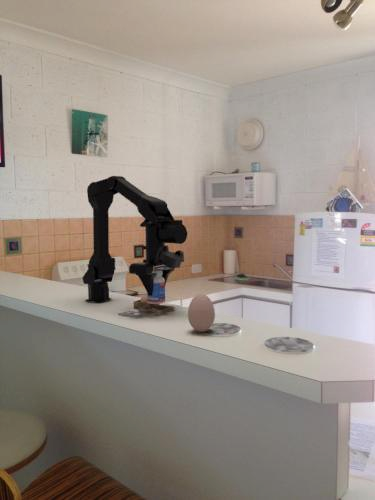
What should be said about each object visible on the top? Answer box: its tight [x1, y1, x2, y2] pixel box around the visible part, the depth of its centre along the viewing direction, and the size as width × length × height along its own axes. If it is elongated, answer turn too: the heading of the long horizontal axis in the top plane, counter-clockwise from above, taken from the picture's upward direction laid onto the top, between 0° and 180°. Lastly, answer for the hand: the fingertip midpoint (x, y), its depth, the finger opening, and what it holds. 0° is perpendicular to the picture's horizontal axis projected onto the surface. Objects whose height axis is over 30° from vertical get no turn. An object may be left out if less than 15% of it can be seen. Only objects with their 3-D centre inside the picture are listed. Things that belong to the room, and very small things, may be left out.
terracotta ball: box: [139, 294, 148, 303], centre depth 145 cm, size 4×4×4 cm
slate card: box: [118, 310, 148, 318], centre depth 136 cm, size 7×5×1 cm
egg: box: [187, 293, 216, 333], centre depth 116 cm, size 7×7×10 cm
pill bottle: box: [146, 270, 166, 305], centre depth 139 cm, size 6×5×10 cm
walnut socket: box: [138, 304, 175, 317], centre depth 140 cm, size 8×8×1 cm
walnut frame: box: [133, 299, 160, 310], centre depth 145 cm, size 6×6×2 cm
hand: (156, 294), depth 139 cm, fingers closed on pill bottle, 5 cm apart
